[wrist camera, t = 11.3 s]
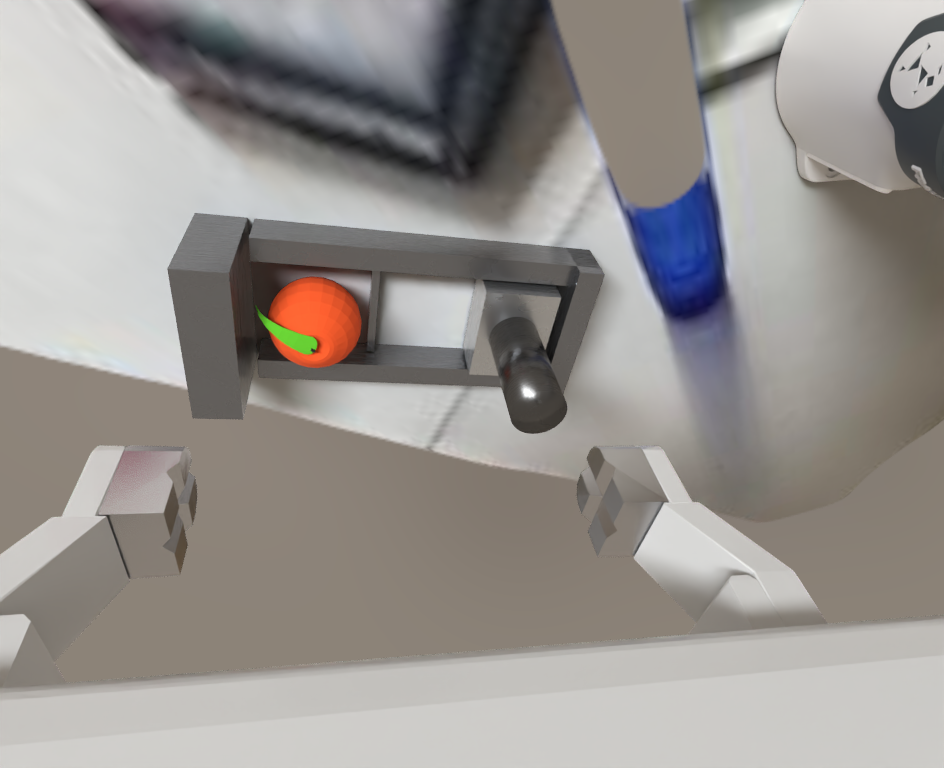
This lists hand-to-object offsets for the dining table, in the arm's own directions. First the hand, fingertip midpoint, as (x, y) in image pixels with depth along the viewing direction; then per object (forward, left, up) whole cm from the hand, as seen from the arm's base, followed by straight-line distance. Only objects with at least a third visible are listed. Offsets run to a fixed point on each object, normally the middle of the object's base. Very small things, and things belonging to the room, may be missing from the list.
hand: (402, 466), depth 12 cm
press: (-3, +17, -34) cm, 38 cm away
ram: (-12, +17, -34) cm, 40 cm away
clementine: (+4, +17, -34) cm, 38 cm away
